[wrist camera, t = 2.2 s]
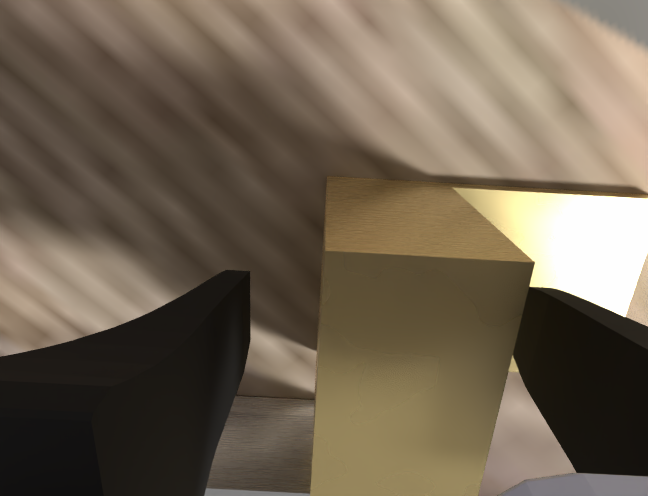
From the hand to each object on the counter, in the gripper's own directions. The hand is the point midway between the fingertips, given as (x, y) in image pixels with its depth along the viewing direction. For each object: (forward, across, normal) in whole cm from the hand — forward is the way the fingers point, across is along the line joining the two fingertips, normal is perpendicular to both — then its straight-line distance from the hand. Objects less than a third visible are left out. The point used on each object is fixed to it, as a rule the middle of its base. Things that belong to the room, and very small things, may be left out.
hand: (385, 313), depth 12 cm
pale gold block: (+3, -3, 0) cm, 4 cm away
